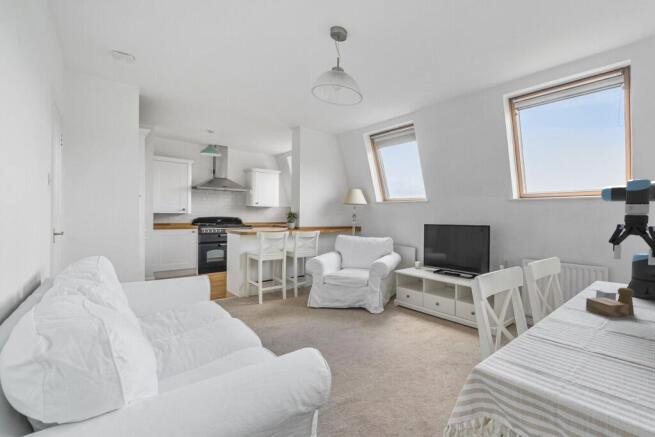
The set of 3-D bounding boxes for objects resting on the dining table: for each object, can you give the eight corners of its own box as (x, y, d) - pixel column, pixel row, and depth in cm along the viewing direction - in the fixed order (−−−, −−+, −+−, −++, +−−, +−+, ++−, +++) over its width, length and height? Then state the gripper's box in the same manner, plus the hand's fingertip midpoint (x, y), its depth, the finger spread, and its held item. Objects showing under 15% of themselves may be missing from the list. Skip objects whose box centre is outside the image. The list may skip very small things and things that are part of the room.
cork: (625, 310, 137) (627, 286, 137) (638, 315, 131) (639, 290, 131) (611, 309, 138) (613, 286, 137) (623, 314, 132) (624, 289, 131)
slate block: (606, 302, 149) (607, 290, 149) (615, 305, 144) (616, 293, 144) (595, 301, 150) (596, 289, 150) (603, 304, 145) (604, 292, 145)
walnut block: (604, 308, 140) (605, 297, 140) (628, 316, 130) (629, 304, 130) (585, 308, 138) (586, 298, 138) (609, 316, 129) (609, 305, 128)
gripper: (600, 213, 146) (598, 256, 147) (663, 215, 121) (660, 267, 122) (613, 213, 147) (611, 256, 148) (679, 215, 122) (676, 267, 123)
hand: (633, 261), depth 135 cm, fingers open, 13 cm apart
